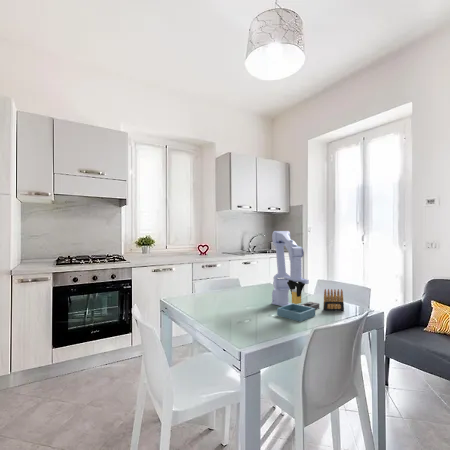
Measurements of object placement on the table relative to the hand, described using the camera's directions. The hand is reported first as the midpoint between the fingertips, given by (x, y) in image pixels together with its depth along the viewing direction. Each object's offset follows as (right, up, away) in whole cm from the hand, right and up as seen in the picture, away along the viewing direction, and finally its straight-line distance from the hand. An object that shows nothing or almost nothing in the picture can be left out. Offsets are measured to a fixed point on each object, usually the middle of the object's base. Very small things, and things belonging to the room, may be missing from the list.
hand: (296, 295), depth 151 cm
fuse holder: (+10, -10, +12) cm, 18 cm away
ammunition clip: (+23, -11, +9) cm, 27 cm away
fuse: (0, -4, 0) cm, 4 cm away
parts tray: (0, -10, 0) cm, 10 cm away
